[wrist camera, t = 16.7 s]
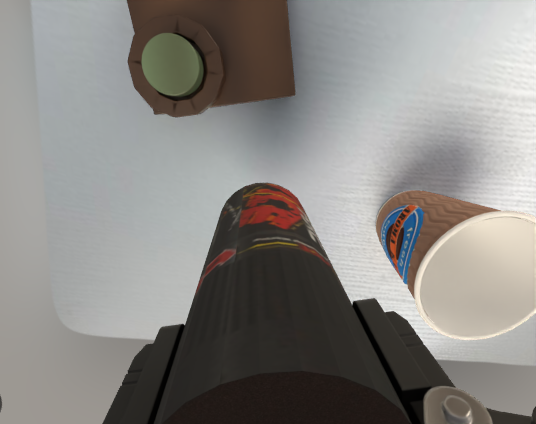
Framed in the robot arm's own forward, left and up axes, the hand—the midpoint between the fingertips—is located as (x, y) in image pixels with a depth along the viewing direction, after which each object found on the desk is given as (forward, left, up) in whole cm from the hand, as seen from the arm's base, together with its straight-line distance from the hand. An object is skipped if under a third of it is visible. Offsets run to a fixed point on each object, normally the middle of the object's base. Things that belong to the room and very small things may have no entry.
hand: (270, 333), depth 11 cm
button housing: (-2, +13, -21) cm, 25 cm away
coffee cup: (+15, -6, -21) cm, 27 cm away
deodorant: (0, 0, -11) cm, 11 cm away
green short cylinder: (-5, +11, -17) cm, 21 cm away
